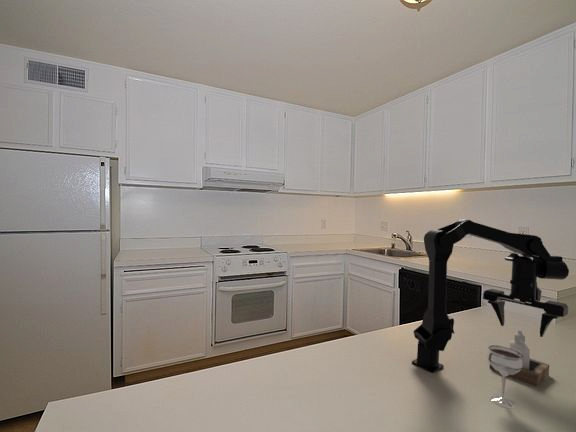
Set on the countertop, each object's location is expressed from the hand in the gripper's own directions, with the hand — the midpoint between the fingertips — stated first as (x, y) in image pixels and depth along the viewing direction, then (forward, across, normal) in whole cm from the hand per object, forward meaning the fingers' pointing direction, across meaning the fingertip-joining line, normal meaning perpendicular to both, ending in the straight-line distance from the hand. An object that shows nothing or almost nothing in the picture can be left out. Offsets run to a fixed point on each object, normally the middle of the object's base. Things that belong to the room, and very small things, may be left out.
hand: (521, 330), depth 85 cm
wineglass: (+12, -3, +22) cm, 25 cm away
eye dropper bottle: (+12, 0, 0) cm, 12 cm away
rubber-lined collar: (+12, 0, 0) cm, 12 cm away
